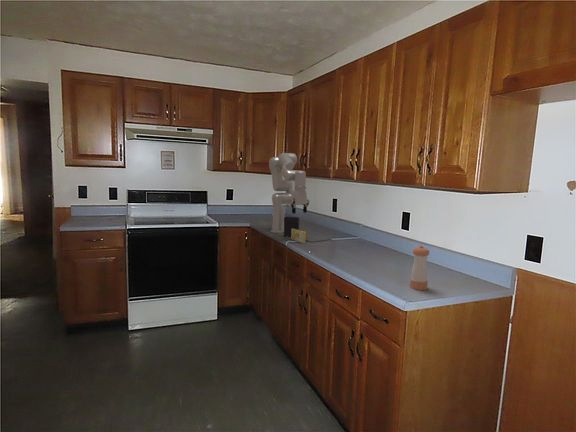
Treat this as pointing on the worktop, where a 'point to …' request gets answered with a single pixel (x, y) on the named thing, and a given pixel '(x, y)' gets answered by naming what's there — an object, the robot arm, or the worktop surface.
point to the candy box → (298, 235)
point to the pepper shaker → (419, 269)
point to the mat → (317, 239)
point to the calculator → (290, 225)
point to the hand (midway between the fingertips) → (299, 212)
